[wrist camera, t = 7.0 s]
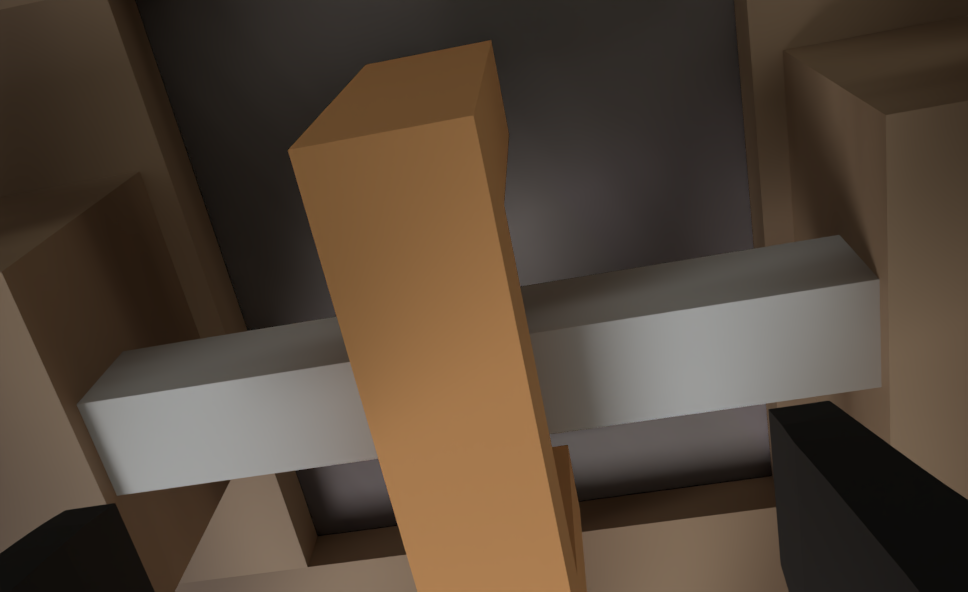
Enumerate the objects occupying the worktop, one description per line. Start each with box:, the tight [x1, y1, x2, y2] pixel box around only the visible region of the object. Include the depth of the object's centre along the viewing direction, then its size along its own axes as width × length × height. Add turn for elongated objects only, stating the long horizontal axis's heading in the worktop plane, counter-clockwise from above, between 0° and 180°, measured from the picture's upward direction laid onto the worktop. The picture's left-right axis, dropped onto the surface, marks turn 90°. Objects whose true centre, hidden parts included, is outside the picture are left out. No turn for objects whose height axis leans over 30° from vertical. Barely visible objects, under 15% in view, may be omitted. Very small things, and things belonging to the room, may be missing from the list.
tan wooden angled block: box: [288, 40, 587, 592], centre depth 13 cm, size 9×2×5 cm, turn 11°
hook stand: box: [0, 0, 968, 592], centre depth 15 cm, size 22×18×6 cm
